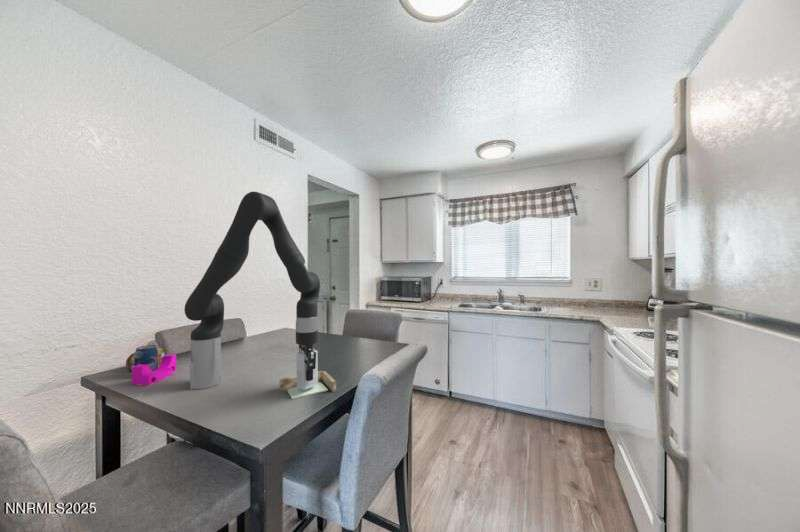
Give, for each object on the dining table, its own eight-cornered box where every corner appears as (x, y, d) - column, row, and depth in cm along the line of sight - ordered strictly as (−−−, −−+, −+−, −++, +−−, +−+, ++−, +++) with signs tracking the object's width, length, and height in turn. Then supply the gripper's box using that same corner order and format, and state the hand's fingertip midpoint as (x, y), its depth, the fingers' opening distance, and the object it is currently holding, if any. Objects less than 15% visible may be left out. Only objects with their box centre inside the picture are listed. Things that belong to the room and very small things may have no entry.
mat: (292, 399, 95) (292, 398, 95) (287, 390, 102) (287, 389, 102) (327, 390, 101) (327, 389, 101) (320, 382, 108) (320, 381, 108)
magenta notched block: (148, 388, 105) (148, 367, 105) (132, 387, 105) (132, 367, 105) (182, 372, 120) (181, 354, 120) (167, 372, 120) (167, 354, 120)
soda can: (138, 382, 110) (138, 350, 110) (131, 378, 113) (131, 347, 113) (160, 376, 116) (160, 346, 116) (153, 373, 119) (153, 343, 119)
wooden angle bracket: (286, 403, 92) (286, 392, 92) (279, 389, 103) (279, 379, 103) (336, 391, 101) (336, 381, 101) (324, 379, 112) (324, 370, 112)
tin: (130, 375, 117) (130, 354, 117) (124, 375, 117) (124, 354, 117) (166, 363, 132) (166, 344, 132) (161, 362, 132) (161, 344, 132)
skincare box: (309, 381, 105) (310, 348, 105) (318, 384, 103) (318, 350, 103) (295, 387, 100) (296, 352, 100) (304, 390, 98) (304, 354, 98)
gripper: (324, 331, 98) (324, 382, 98) (312, 324, 110) (312, 369, 110) (301, 334, 94) (301, 387, 94) (291, 326, 106) (291, 373, 106)
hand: (307, 377), depth 102 cm, fingers closed on skincare box, 5 cm apart
